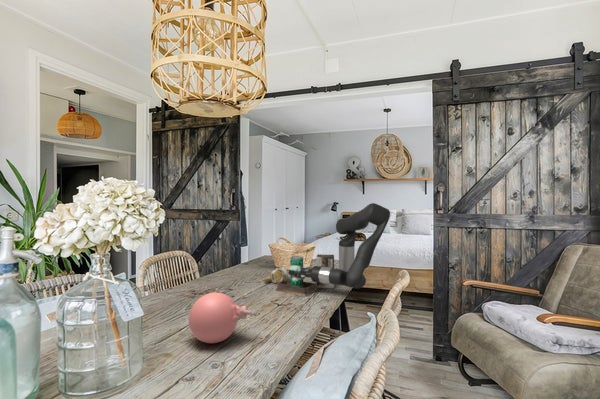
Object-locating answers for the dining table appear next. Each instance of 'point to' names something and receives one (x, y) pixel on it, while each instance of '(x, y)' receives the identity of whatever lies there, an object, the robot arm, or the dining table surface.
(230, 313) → the balloon
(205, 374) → the dining table surface
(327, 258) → the coffee box
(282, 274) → the ceramic sculpture
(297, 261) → the can
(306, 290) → the brown open tray
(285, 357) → the dining table surface
